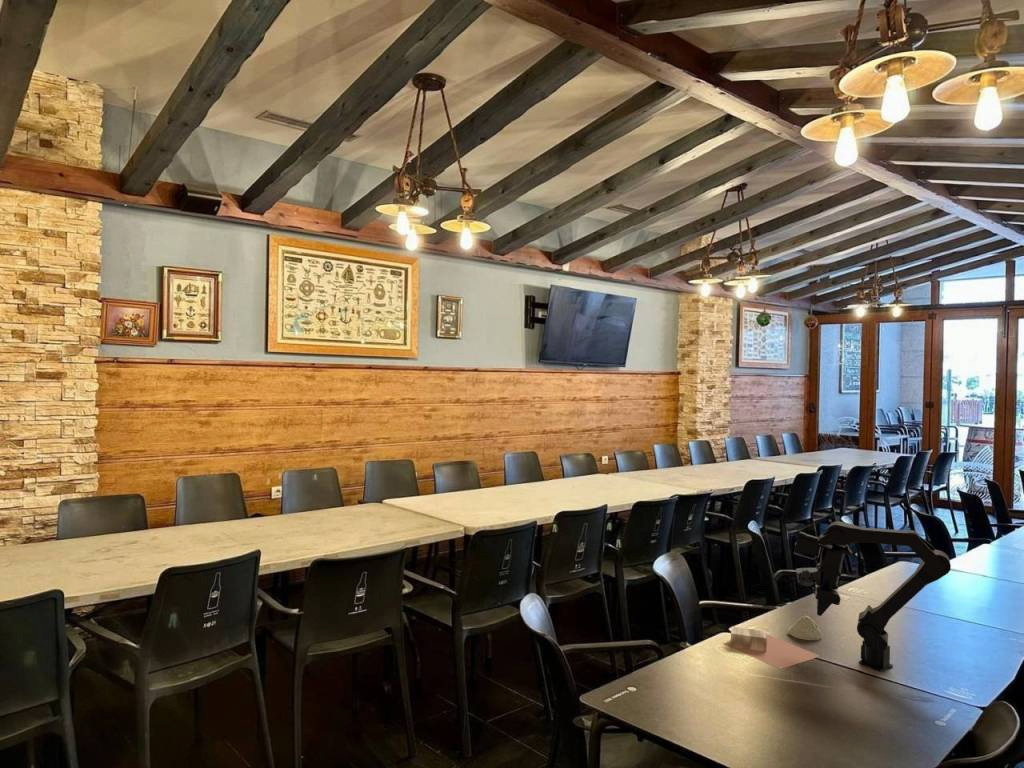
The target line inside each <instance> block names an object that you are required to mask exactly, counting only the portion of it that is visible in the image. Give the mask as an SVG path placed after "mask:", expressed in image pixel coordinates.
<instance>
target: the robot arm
mask: <svg viewBox="0 0 1024 768" xmlns="http://www.w3.org/2000/svg"><path fill="white" fill-rule="evenodd" d="M857 543H858V544H859V543H867V544H868V543H870V544H879V545H881V544H882V545H892V546H902V547H904V546H905V547H909V548H910V549H911V550H912V551H913V552H914V553H915V555H917V557H919V559H920V560H921V561H920V563H919V564H918V566H917V568H916V570H915V571H914V572H913V573H912V574H911V575H910V576H909V577H908V578H907V579H906V580H905V581H904V582H903V583H902V584H901V585H899V586H898V588H896V589H895V590H894V591H893V592H892V593H891V594H890V595H889V596H888V597H887V598H885V599H884V601H883V602H881V603H880V604H879V605H878V606H876V607H872V606H871V605H870V604H868V605H867V606H866V607H865V609H864V610H863V611H861V612H859V613H858V619H857V625H856V632H857V634H858V635H859V636H860V637H861V638H862V639H863V640H862V643H861V645H860V660H858V664H860V665H863V666H866V667H868V668H871V669H873V670H876V671H878V672H882V671H884V670H888V669H892V668H893V667H894V666H893V665H894V664H891V663H890V661H891V646H890V645H889V633H888V632H887V631H886V630H885V628H886V627H887V624H888V623H889V622H890V619H891V618H893V616H895V615H896V614H897V613H898V612H900V610H901V609H902V608H903V607H904V606H906V605H907V604H908V603H909V602H910V601H911V600H912V599H913V598H914V597H915V596H916V595H917V594H919V593H920V591H922V590H923V589H925V587H926V586H927V585H930V584H931V583H934V582H936V581H938V580H940V579H941V578H943V577H945V576H946V575H948V574H949V572H950V571H951V569H952V568H951V567H952V565H951V560H950V558H949V555H947V553H946V552H944V551H942V550H939V549H936V548H935V547H934V546H933V545H931V544H930V543H929V542H928V541H927V540H925V539H924V538H923V537H922V536H921V535H920V534H919V533H918V532H917V531H916V530H912V529H910V530H903V529H902V530H901V529H888V528H874V527H873V528H872V527H861V526H859V525H855V524H852V523H848V522H844V521H832V522H831V523H830V524H829V525H828V527H827V529H826V531H824V532H823V533H821V534H820V535H819V536H814V535H810V534H808V533H806V532H803V531H799V533H798V536H797V538H796V542H795V544H794V547H793V554H794V555H797V556H799V557H802V558H803V557H804V558H806V559H807V558H808V559H810V560H815V559H816V558H819V556H820V552H821V556H820V561H819V562H818V563H817V564H816V567H800V568H795V574H796V577H797V583H798V584H805V583H807V584H808V583H814V584H815V586H814V585H813V586H811V587H812V591H813V594H814V597H815V599H816V614H817V616H819V617H821V616H823V614H824V613H825V612H826V611H827V610H828V609H829V608H830V607H831V605H836V606H840V603H841V595H840V593H839V592H838V590H839V585H838V582H839V579H840V577H841V575H842V571H841V570H842V567H843V561H844V557H845V555H846V556H847V555H848V556H849V557H851V556H852V554H853V550H851V549H850V547H849V545H852V544H857ZM831 544H832V545H831ZM821 548H822V551H821Z"/></svg>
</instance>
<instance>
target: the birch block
mask: <svg viewBox="0 0 1024 768" xmlns="http://www.w3.org/2000/svg"><path fill="white" fill-rule="evenodd" d="M767 635H768V632H767V631H766V630H760V629H752V628H746V627H739V626H738V627H737V626H731V632H730V642H731V647H730V648H732V647H736V648H743V649H750V650H757V651H763V652H766V647H767Z"/></svg>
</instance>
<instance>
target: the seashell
mask: <svg viewBox="0 0 1024 768" xmlns="http://www.w3.org/2000/svg"><path fill="white" fill-rule="evenodd" d="M786 632H787V634H788V635H790V636H791V637H794V638H796V639H801V640H805V641H819V640H820V639H822V637H823V636H822V632H821V630H820V628H819V626H818V624H817V623H816V622H815V620H813V619H812V618H811V617H810V616H809V615H803V616H801V617H800V618H798V619H797V620H796V621H795V622H794V623H793V624H792V625H791V626H790V627H789V628H788V630H787V631H786Z"/></svg>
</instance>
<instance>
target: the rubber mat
mask: <svg viewBox="0 0 1024 768" xmlns="http://www.w3.org/2000/svg"><path fill="white" fill-rule="evenodd" d="M724 645H725V646H727V647H730V648H731V649H733V650H736V651H739V652H741V653H743V654H745V655H747V656H750V657H752V658H754V659H756V660H759V661H761V662H764V663H766V664H768V665H770V666H773V667H774V668H776V669H779V670H782V669H785V668H789V667H791V666H795V665H798V664H801V663H805V662H808V661H810V660H814V659H816V658H819V657H821V655H819V654H817V653H814V652H811V651H810V650H806V649H804V648H802V647H799V646H797V645H794V644H792V643H790V642H787V641H784V640H781V639H780V638H777V637H774V636H772V635H769V634H767V647H766V652H763V651H757V650H750V649H743V648H736V647H731V641H729V642H726V643H724Z"/></svg>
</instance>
